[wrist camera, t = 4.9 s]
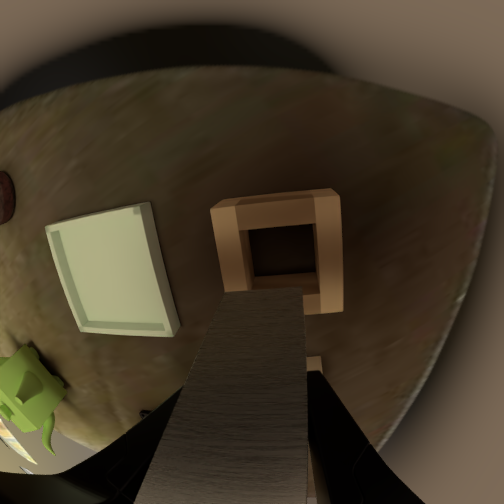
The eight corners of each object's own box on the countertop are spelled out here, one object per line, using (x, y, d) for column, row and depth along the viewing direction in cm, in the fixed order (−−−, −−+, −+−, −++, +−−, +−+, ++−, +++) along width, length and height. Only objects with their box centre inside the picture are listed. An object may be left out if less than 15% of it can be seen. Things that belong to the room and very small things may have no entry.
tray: (180, 325, 24) (173, 336, 23) (89, 322, 26) (80, 331, 24) (150, 201, 21) (139, 205, 19) (57, 221, 22) (44, 226, 21)
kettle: (62, 352, 29) (14, 407, 18) (88, 416, 34) (57, 465, 23) (1, 320, 30) (-43, 357, 19) (27, 383, 35) (-5, 420, 24)
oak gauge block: (335, 287, 21) (342, 311, 18) (238, 295, 23) (230, 319, 19) (330, 188, 19) (339, 195, 16) (222, 199, 20) (209, 209, 17)
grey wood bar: (306, 347, 12) (303, 560, 3) (237, 350, 12) (182, 548, 4) (302, 285, 11) (303, 547, 2) (224, 291, 11) (127, 518, 3)
